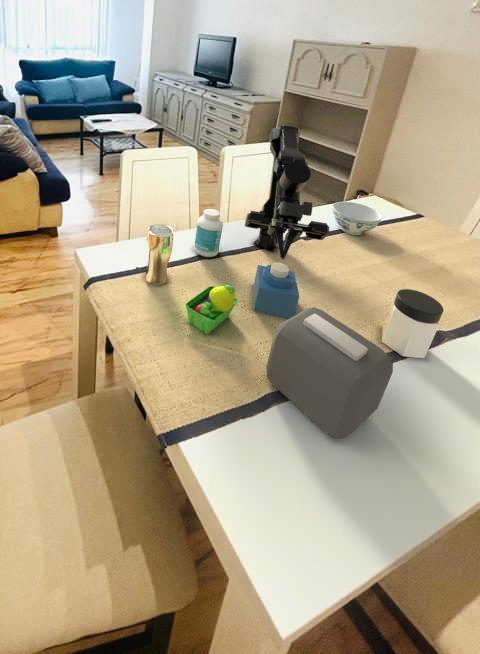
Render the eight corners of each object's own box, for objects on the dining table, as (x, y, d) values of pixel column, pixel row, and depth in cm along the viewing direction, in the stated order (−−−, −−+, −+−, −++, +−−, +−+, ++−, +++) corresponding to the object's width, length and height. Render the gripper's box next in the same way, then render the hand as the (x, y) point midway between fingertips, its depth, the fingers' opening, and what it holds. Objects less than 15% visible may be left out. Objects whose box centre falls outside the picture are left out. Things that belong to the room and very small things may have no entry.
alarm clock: (372, 420, 69) (400, 354, 63) (337, 453, 63) (364, 383, 57) (292, 356, 82) (309, 296, 76) (257, 379, 76) (272, 316, 70)
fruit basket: (208, 300, 97) (215, 262, 93) (240, 319, 91) (248, 280, 87) (181, 322, 89) (186, 282, 85) (214, 344, 84) (221, 302, 79)
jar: (434, 352, 84) (454, 309, 80) (413, 364, 81) (432, 319, 77) (392, 325, 92) (409, 284, 87) (371, 335, 88) (387, 292, 84)
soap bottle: (253, 286, 103) (259, 258, 100) (288, 294, 101) (296, 265, 98) (253, 310, 94) (260, 280, 91) (293, 319, 92) (301, 289, 89)
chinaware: (385, 242, 129) (392, 222, 126) (341, 240, 129) (347, 219, 126) (360, 221, 143) (365, 202, 140) (319, 219, 143) (325, 200, 140)
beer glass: (172, 275, 106) (177, 227, 101) (163, 289, 100) (169, 239, 95) (148, 268, 109) (152, 221, 103) (139, 281, 103) (143, 232, 97)
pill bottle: (218, 260, 114) (225, 219, 109) (193, 256, 116) (199, 216, 111) (217, 247, 121) (224, 208, 116) (193, 243, 122) (199, 205, 117)
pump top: (269, 267, 97) (271, 261, 96) (286, 271, 96) (288, 264, 95) (270, 277, 93) (272, 269, 92) (288, 280, 92) (289, 273, 91)
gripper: (253, 181, 94) (246, 242, 88) (337, 193, 89) (335, 259, 83) (248, 197, 104) (241, 253, 98) (323, 209, 99) (320, 269, 93)
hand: (282, 258), depth 93 cm, fingers closed
